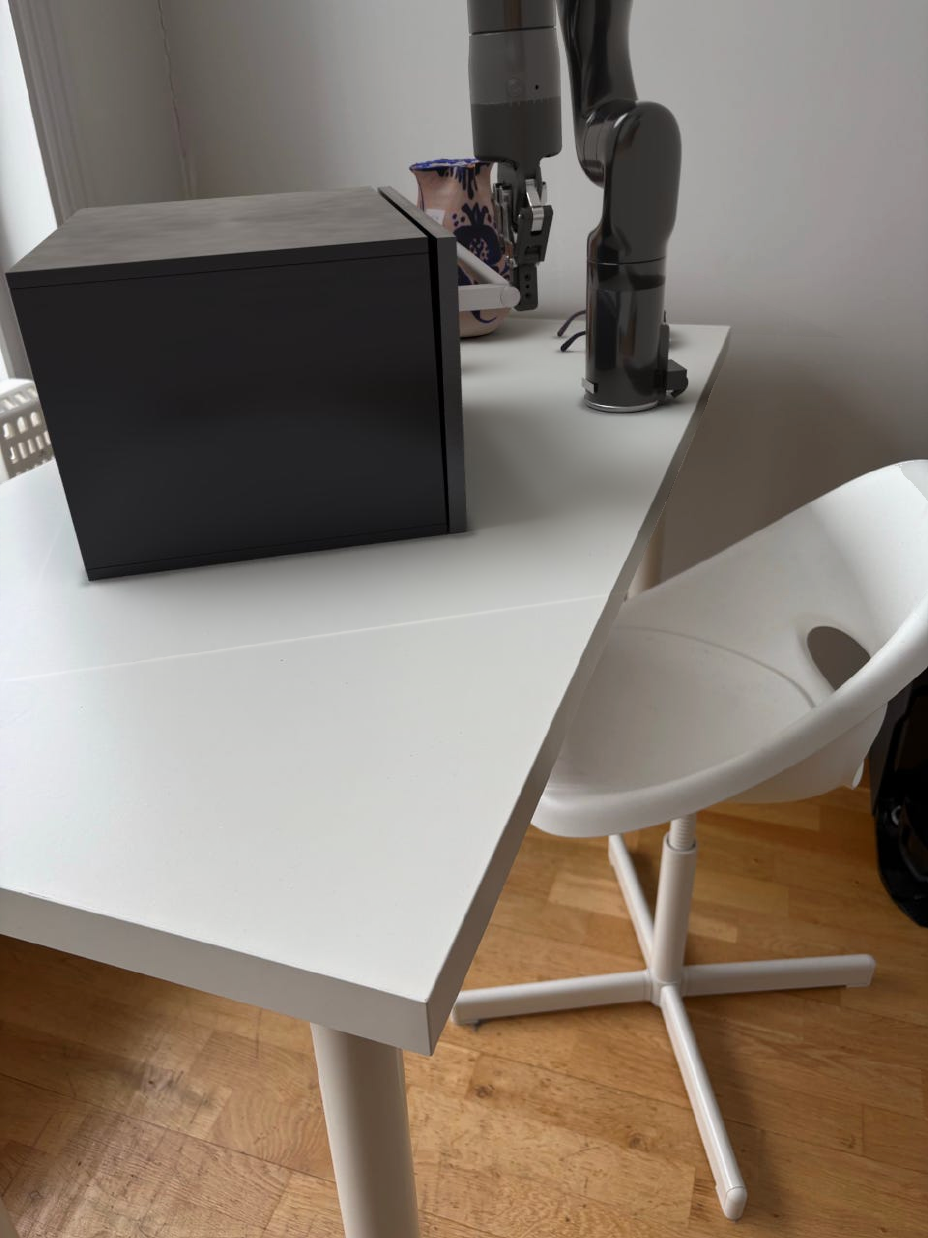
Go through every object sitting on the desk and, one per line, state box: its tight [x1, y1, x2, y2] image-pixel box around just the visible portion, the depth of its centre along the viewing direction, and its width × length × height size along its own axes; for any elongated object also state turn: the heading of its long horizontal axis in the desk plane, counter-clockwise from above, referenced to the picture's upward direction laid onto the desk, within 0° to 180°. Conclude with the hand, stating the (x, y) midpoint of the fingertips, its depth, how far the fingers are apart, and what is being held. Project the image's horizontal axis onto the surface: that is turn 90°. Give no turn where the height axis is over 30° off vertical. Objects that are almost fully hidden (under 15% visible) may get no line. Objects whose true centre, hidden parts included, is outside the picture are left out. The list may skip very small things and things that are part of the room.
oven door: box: [376, 185, 520, 534], centre depth 102 cm, size 8×40×26 cm, turn 11°
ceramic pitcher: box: [408, 157, 512, 338], centre depth 152 cm, size 18×21×25 cm
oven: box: [4, 185, 448, 582], centre depth 99 cm, size 32×40×26 cm
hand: (524, 308), depth 89 cm, fingers closed
